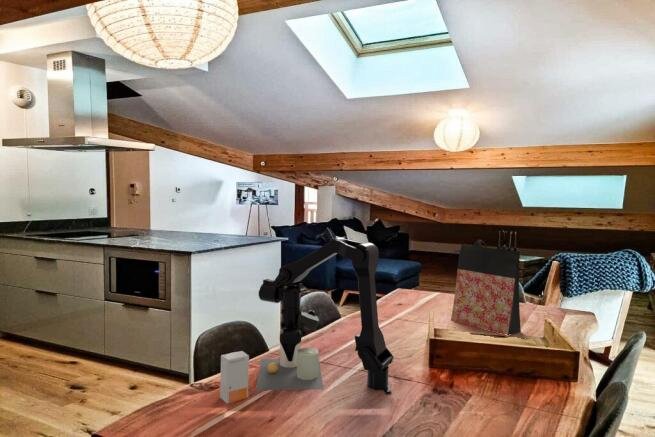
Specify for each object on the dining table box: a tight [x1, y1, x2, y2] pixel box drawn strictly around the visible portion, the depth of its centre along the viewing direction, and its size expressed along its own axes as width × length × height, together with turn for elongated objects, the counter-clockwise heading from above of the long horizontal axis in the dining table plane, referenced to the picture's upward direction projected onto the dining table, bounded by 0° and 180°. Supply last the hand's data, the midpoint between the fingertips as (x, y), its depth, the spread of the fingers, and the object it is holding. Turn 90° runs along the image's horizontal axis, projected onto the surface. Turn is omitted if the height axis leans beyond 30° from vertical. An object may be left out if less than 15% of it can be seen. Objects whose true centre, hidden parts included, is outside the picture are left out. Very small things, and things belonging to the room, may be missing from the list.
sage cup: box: [297, 347, 320, 380], centre depth 129 cm, size 6×6×7 cm
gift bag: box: [450, 239, 522, 335], centre depth 186 cm, size 29×14×35 cm, turn 39°
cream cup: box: [279, 342, 301, 367], centre depth 137 cm, size 6×6×7 cm
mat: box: [255, 358, 324, 391], centre depth 131 cm, size 22×18×1 cm
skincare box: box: [219, 350, 250, 404], centre depth 114 cm, size 6×4×12 cm
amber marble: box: [267, 362, 278, 373], centre depth 130 cm, size 3×3×3 cm
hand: (290, 355), depth 137 cm, fingers open, 9 cm apart
